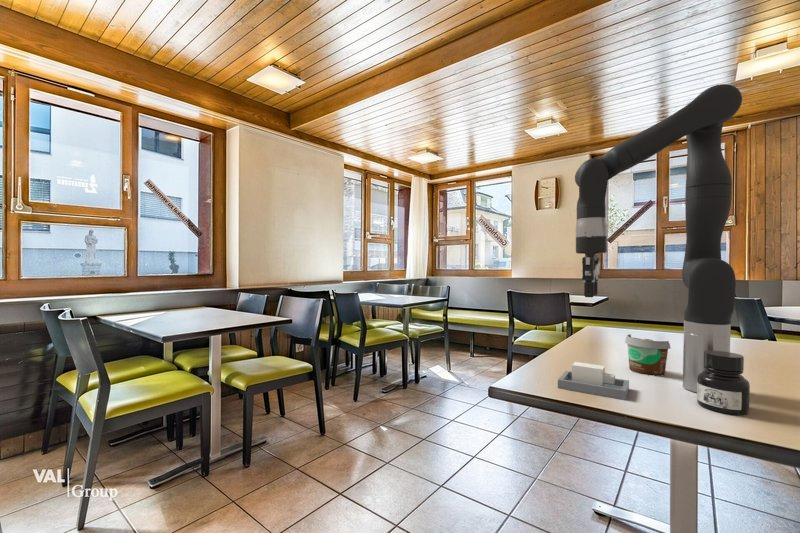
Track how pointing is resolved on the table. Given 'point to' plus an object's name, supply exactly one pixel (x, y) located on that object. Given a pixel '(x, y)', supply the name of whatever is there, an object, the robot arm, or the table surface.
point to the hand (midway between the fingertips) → (591, 296)
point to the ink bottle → (723, 383)
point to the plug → (591, 374)
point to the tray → (595, 387)
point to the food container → (647, 355)
